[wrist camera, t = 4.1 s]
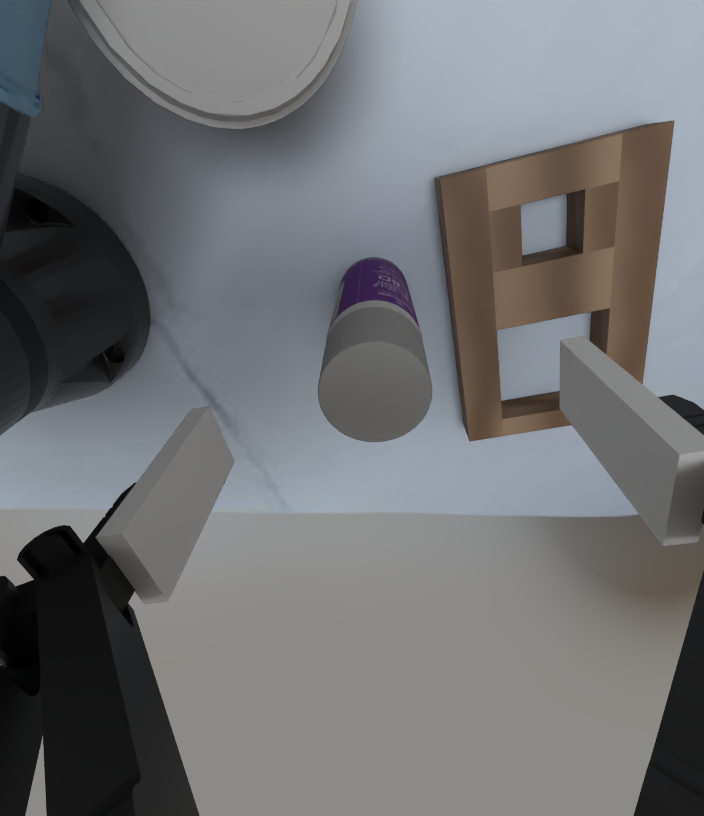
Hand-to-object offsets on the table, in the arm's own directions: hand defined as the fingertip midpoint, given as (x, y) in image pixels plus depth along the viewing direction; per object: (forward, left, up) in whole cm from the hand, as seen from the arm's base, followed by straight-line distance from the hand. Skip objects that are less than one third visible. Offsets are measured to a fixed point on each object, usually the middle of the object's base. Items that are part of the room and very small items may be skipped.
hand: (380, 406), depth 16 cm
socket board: (+11, -3, -16) cm, 19 cm away
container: (0, 0, -16) cm, 16 cm away
